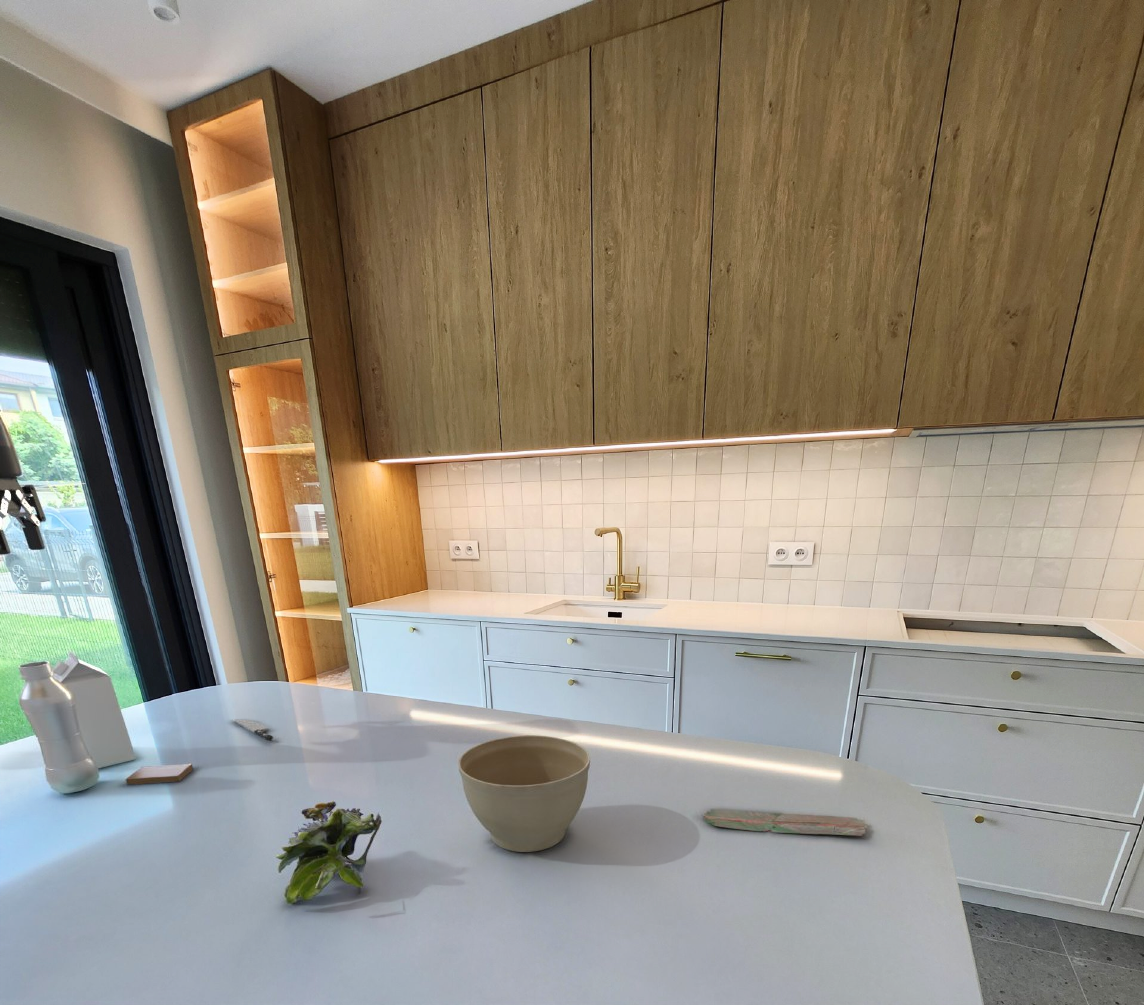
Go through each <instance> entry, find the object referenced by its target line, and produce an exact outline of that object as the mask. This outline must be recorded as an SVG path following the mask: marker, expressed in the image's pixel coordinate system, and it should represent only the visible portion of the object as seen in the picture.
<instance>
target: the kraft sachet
mask: <svg viewBox="0 0 1144 1005" xmlns="http://www.w3.org/2000/svg"><path fill="white" fill-rule="evenodd" d="M193 770H194V767H193V764H192V763H185V764H184V763H183V764H181V763H180V764H166V765H150V766H148V765H147V766H141V767H140V768H138V769H136V771H134V772H133V773H132V774H130V775H129V776H128V777H127V778H125V782H126V785H127V786H128V785H143V784H160V783H162V784H163V783H177V782H181V781H182V780H183V779H185V777H187V775H189V774H190V773H191V772H192V771H193Z"/></svg>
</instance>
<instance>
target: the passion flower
mask: <svg viewBox="0 0 1144 1005" xmlns="http://www.w3.org/2000/svg"><path fill="white" fill-rule="evenodd" d="M336 806H337V803H336V801H329V802H319V803H316V804H314V807H308V808H305V809H302V810H301V815H303V817H304V819H306V820H311V819H312V821H313V822H307V823H303V826H306V827H299V826H298V827H297V828H298V829H297V831H295V832H293V834H294V836H293V837H289V838H288V840H289V841H288V842H287V844H288V845H286V846H282V847H281V849H282V852H283V851H284V853H281V854H277V855H275V858H276V859H278V860H281V861H280V862H279V865H278V867H277V871H278V874H281V873H282V871H283V870H284V869H285V868H286V867H287V866H290V865H291V864H292V863H293V862H295V861H296V867H295V869H294V871H293V873H292V875H291V879H290V881H289V884H287V886H286V887H285V890H284V898H285V902H286V903H287V904H288V905H293V904H294V903H296V902H298V901H299V900H302V901H309V900H311V899H313V898H314V897H316V896H317V895H318V894H320V893H321V892H322V891H323V890H324V888H326V887H327V885H328V884H329V883H330V882H331V881H332V880H333V878H334V877H335V876H336V875H337V874H338V875H339V878H340V879H342V880H343V882H345V883H346V884H349V885H350V886H354V887H358V895H360V894H361V893H362V887H363V886H364V884H363V875H364V869H365V867H366V864H367V856H368V853H369V852H370V849H371V846H372V844H373V841H374V840H375V837H376V835H377V833H378V831H379V829H380V826H381V824H382V822H383V821H382V816H381V815H380V812H379V811H378V813H377V814H376V817H375V815H374V814H373V813H369V814H368V815H367V816H365V817H363V818H361V817H362V816H364V813H362V812H361V808H357V809H356V807H353V808H352V809H351V810H350V808H346V809H345V808H336ZM335 808H336V809H335ZM334 809H335V810H334ZM333 810H334V811H333ZM327 814H328V815H327ZM374 817H375V818H374ZM361 835H371V837H370V839H369V842H368V844H367V847H366V848H365V851H364V852H363V854H362V855H361V856H360V857H359V858H358V859H352V858H350V857H349V856H352V855H353V854H354V852H355V849H356V848H355V846H356V842H357V839H358V837H359V836H361Z"/></svg>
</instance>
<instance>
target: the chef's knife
mask: <svg viewBox="0 0 1144 1005" xmlns="http://www.w3.org/2000/svg"><path fill="white" fill-rule="evenodd" d="M232 721H233V722H235V723H236V724H238V725H240V726H241V727H243V728H245V729H247V730H248V731H250V732H252V733H253V734H255V735H257V736H258V737H261V738H262V739H264V740H266V741H268V742H271V741H273V739H274V736H273V735H271V734H267V733H265V732H266V731H268V730H270V728H269V727H267V726H266V725H263V724H261V723H259V722H256V721H254V720H253V721H252V720H245V719H232Z"/></svg>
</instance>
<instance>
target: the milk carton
mask: <svg viewBox="0 0 1144 1005" xmlns="http://www.w3.org/2000/svg"><path fill="white" fill-rule="evenodd" d="M67 653H68V657H67V658H66V659H65V661H62V660H60V661H58V662H57V663H56V664H55V665H54V666H53V667H52V670H53V671H54V675H53V677H54V678H55V679H56V680H58V681H59V682H61V683H62V684H64V685H65V686H66V687H68V688H69V689H70V691H71V692H72V693H73V696H74V700H75V701H74V702H75V706H76V713H77V719H78V723H79V726H80V730H81V734H82V737H83V739H84V742H85V744H86V746H87V748H88V751H89V753H90V755H91V756H92V758H93V759H94V761H95V763H96V765H97V767H98V770H99V769H102V768H106V767H110V766H115V765H118V764H123V763H127V762H130V761H133V760H137V757H136V753H135V750H134V747H133V743H132V741H131V738H130V734H129V732H128V728H127V725H126V722H125V719H124V716H123V712H122V709H121V706H120V704H119V700H118V697H117V694H116V691H115V688H114V685H113V684H114V683H113V681H112V678H111V675H109V674H108V673H107V672H105V671H104V670H103V669H101V668H99V667H98V666H94V665H92V664H90V663H88V662H85V661H84V660H81V659H79V657H78V655H77V654H75V653H74V652H73V651H72V650H70V649H67Z"/></svg>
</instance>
